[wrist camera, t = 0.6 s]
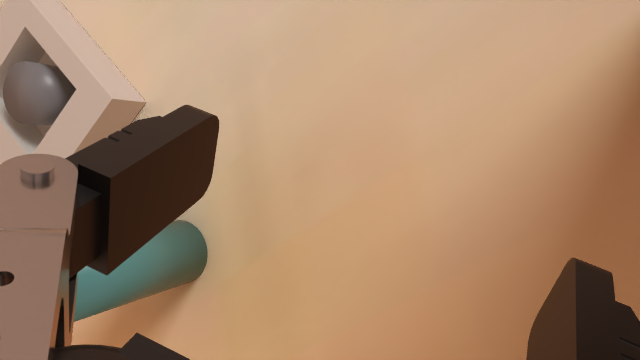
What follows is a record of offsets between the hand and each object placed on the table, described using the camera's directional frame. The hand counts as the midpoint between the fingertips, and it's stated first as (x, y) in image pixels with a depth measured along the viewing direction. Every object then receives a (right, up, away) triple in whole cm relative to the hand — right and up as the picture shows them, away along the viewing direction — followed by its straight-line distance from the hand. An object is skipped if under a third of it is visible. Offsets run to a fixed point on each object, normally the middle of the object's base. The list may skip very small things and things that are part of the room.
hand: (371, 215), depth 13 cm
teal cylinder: (-10, -4, +24) cm, 26 cm away
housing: (-22, +3, +29) cm, 36 cm away
